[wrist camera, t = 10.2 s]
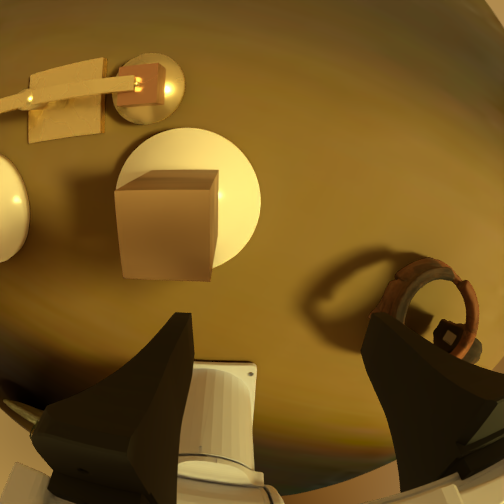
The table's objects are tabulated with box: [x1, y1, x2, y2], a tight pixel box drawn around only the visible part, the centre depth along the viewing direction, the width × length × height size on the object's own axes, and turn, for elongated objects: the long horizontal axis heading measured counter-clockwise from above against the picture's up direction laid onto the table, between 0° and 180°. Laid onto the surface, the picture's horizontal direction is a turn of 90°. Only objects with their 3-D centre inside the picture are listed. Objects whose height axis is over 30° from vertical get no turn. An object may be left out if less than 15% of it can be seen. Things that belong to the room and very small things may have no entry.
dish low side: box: [116, 128, 261, 268], centre depth 19 cm, size 9×9×1 cm
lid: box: [3, 399, 44, 439], centre depth 25 cm, size 11×10×5 cm
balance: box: [0, 53, 186, 143], centre depth 13 cm, size 5×17×6 cm, turn 87°
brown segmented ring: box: [368, 257, 482, 364], centre depth 21 cm, size 12×10×8 cm
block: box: [114, 170, 219, 282], centre depth 15 cm, size 4×4×6 cm
